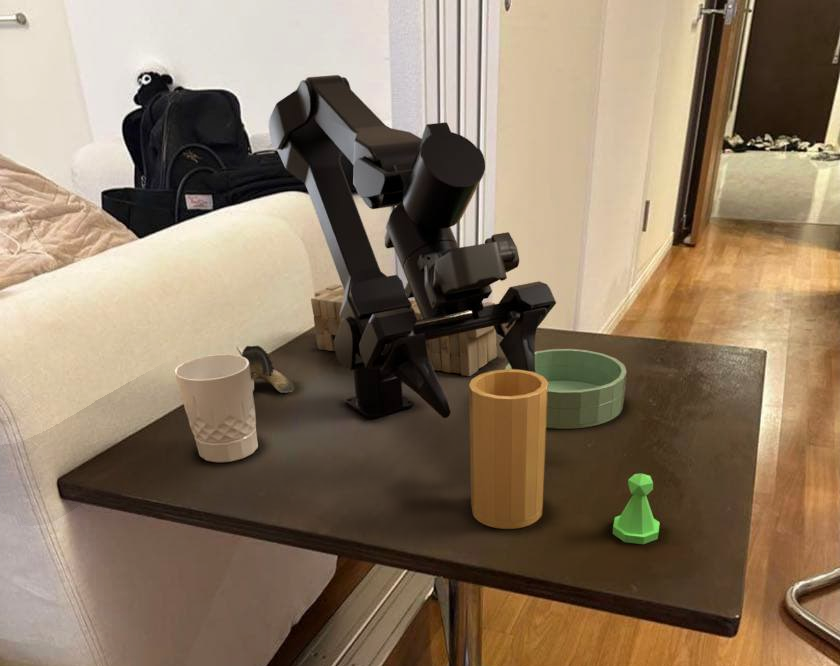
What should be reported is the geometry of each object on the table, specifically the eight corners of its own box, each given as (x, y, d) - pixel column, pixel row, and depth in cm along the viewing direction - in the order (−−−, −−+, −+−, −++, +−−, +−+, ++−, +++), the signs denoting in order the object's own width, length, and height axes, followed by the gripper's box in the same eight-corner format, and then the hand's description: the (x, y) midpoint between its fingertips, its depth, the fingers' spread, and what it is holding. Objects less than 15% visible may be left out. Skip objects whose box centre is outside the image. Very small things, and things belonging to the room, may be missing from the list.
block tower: (311, 353, 119) (478, 379, 105) (302, 297, 115) (475, 315, 100) (343, 337, 125) (506, 359, 110) (335, 283, 120) (505, 299, 106)
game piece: (667, 542, 70) (675, 483, 67) (619, 546, 70) (625, 487, 67) (650, 517, 74) (658, 460, 71) (605, 521, 74) (610, 464, 70)
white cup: (203, 472, 86) (184, 385, 81) (186, 445, 92) (167, 363, 87) (272, 454, 89) (258, 369, 84) (251, 429, 95) (237, 349, 90)
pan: (482, 400, 99) (481, 366, 96) (568, 374, 105) (570, 341, 102) (556, 439, 89) (558, 402, 86) (647, 407, 95) (652, 371, 92)
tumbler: (458, 507, 77) (454, 381, 70) (513, 486, 80) (515, 363, 73) (500, 537, 72) (501, 405, 65) (557, 514, 75) (564, 385, 68)
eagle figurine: (211, 394, 102) (272, 385, 99) (209, 339, 102) (269, 329, 99) (244, 404, 109) (301, 396, 106) (242, 353, 110) (299, 344, 106)
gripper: (359, 218, 65) (426, 387, 62) (548, 190, 71) (616, 341, 69) (334, 293, 75) (391, 441, 73) (502, 263, 82) (559, 397, 79)
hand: (491, 404), depth 73 cm, fingers open, 9 cm apart
